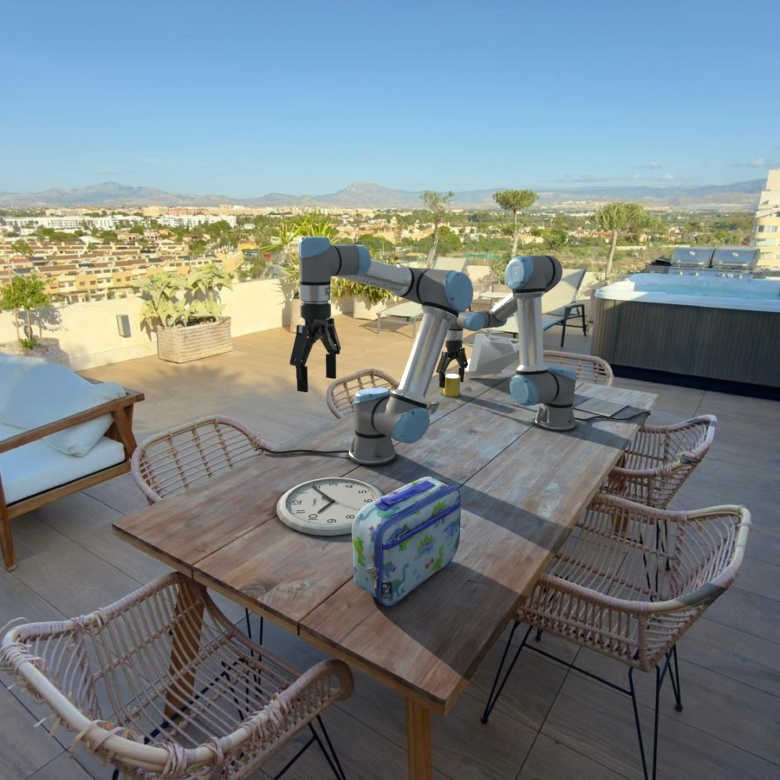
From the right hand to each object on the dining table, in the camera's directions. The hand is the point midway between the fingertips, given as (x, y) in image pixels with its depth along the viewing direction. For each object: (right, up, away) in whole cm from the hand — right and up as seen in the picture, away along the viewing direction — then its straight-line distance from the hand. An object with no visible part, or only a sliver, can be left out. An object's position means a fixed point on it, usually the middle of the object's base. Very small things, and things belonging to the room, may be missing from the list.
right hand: (451, 384), depth 239 cm
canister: (0, -4, +1) cm, 5 cm away
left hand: (-47, -1, -104) cm, 114 cm away
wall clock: (-44, -34, -96) cm, 111 cm away
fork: (-11, -10, -16) cm, 22 cm away
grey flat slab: (+63, -10, -13) cm, 65 cm away
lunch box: (-24, -43, -125) cm, 135 cm away
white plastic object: (+26, +1, +18) cm, 32 cm away
